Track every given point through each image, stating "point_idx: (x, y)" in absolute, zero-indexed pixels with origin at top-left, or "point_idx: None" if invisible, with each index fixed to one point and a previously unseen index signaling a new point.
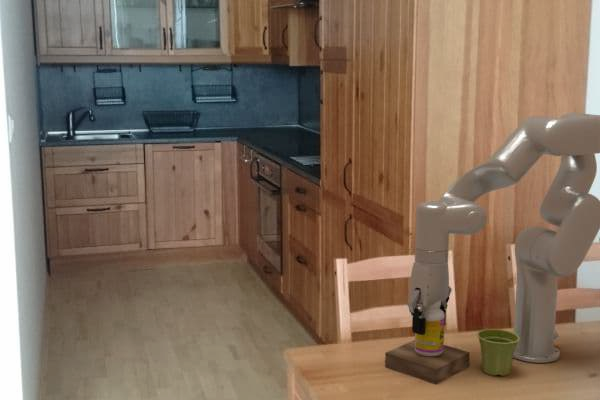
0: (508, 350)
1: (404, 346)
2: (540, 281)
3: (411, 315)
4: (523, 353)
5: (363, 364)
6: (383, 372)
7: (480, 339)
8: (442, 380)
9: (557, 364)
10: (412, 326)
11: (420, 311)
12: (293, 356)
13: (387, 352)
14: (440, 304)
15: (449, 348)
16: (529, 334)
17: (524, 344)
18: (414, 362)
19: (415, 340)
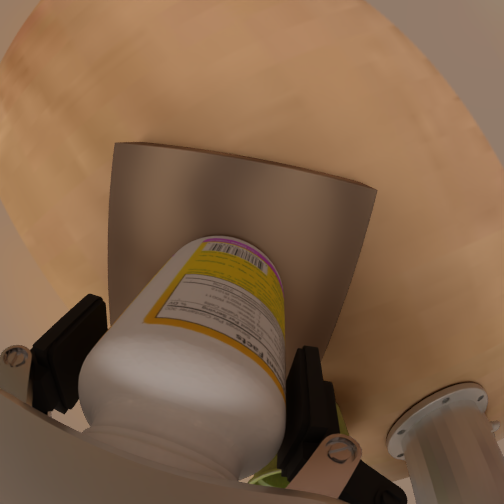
0: (277, 486)
1: (224, 173)
2: None
3: (11, 348)
4: (408, 432)
5: (123, 75)
6: (103, 163)
7: (269, 469)
8: None
9: (392, 458)
10: (73, 308)
11: (85, 397)
12: None
13: (121, 147)
14: None
15: (309, 339)
16: (414, 476)
17: (413, 450)
18: (108, 277)
19: (161, 268)
